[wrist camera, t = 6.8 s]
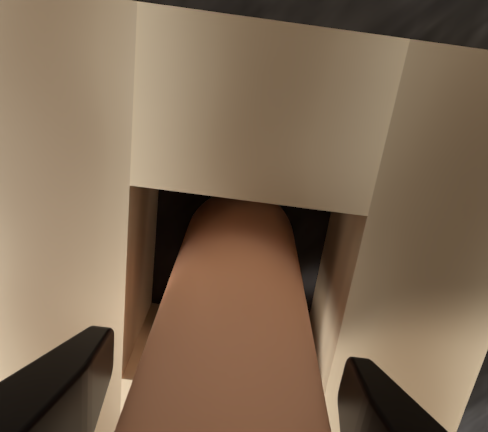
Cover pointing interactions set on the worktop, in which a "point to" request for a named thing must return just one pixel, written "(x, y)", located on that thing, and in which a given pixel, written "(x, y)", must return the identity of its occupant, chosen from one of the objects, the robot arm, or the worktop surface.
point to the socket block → (244, 180)
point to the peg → (230, 332)
